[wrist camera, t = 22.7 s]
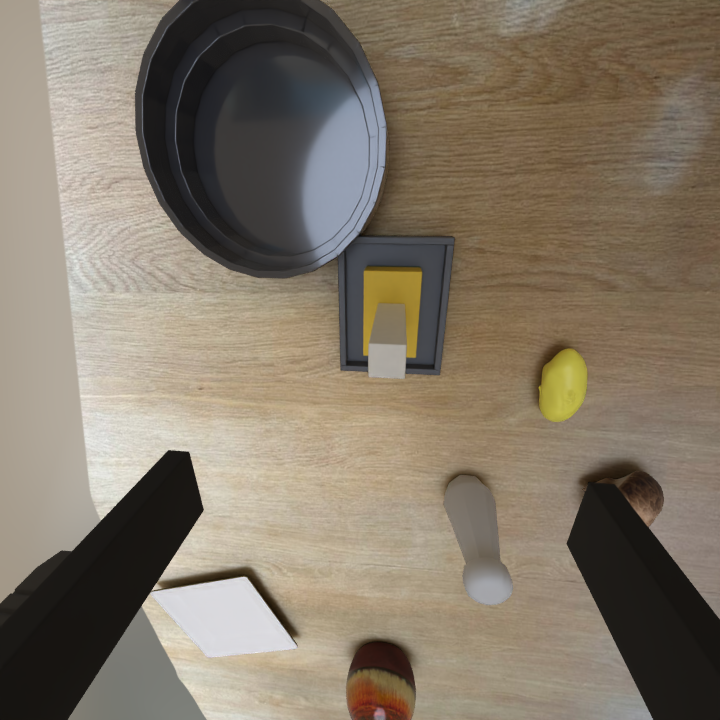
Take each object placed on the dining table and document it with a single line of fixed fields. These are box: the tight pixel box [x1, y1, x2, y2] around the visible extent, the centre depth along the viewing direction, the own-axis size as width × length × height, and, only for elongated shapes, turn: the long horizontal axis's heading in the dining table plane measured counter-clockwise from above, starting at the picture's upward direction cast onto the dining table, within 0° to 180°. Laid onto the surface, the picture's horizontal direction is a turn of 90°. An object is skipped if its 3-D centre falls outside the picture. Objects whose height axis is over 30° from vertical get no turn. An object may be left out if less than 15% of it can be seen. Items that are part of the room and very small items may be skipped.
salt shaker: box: [444, 475, 513, 605], centre depth 36 cm, size 6×6×13 cm
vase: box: [346, 642, 416, 720], centre depth 52 cm, size 11×11×15 cm
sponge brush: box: [363, 265, 422, 379], centre depth 28 cm, size 8×5×13 cm, turn 0°
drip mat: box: [338, 235, 455, 375], centre depth 33 cm, size 13×10×2 cm
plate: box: [150, 575, 298, 658], centre depth 58 cm, size 19×19×2 cm
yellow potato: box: [538, 348, 588, 422], centre depth 34 cm, size 4×8×4 cm, turn 178°
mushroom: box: [582, 471, 664, 527], centre depth 38 cm, size 8×8×6 cm
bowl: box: [135, 0, 389, 278], centre depth 27 cm, size 18×18×6 cm
